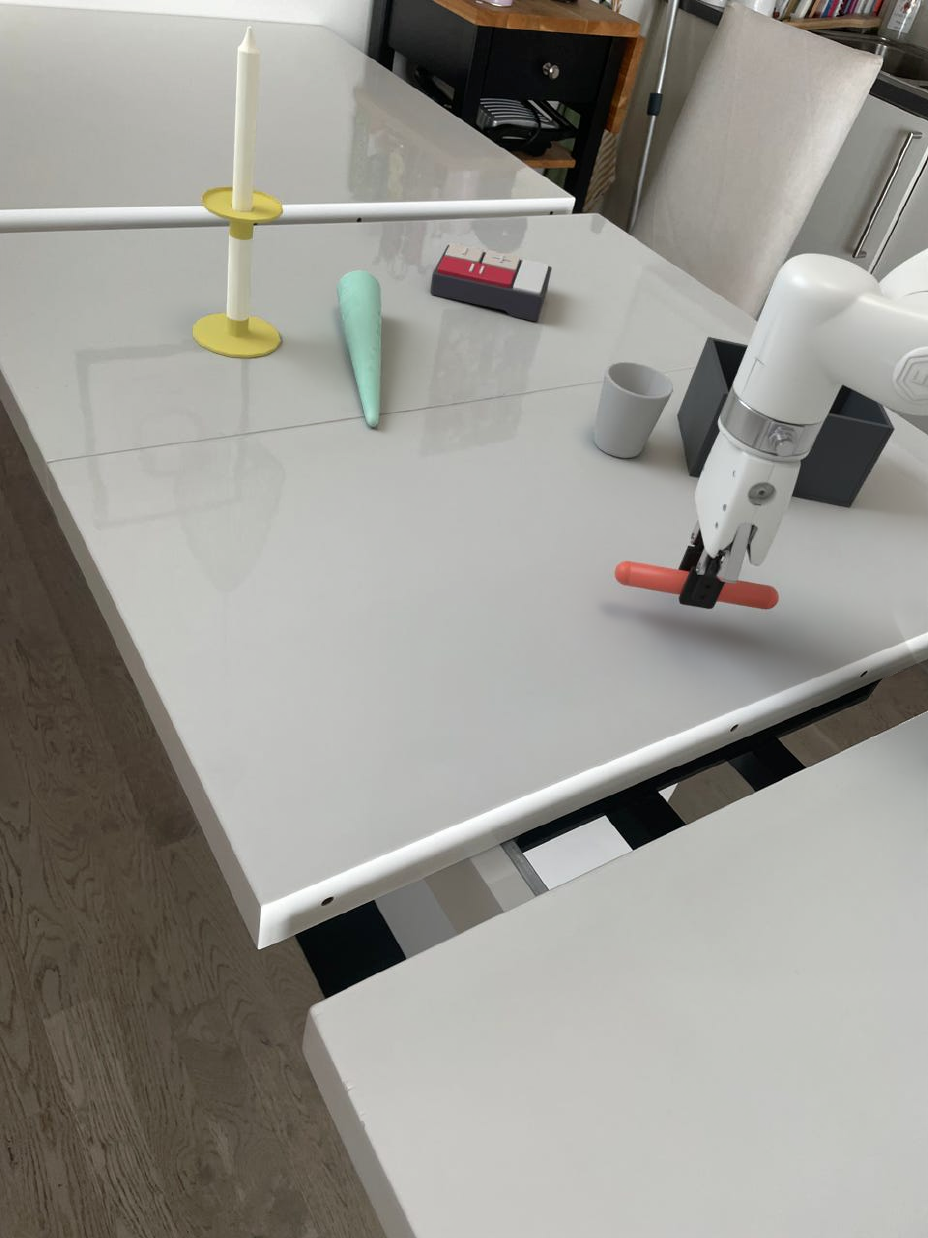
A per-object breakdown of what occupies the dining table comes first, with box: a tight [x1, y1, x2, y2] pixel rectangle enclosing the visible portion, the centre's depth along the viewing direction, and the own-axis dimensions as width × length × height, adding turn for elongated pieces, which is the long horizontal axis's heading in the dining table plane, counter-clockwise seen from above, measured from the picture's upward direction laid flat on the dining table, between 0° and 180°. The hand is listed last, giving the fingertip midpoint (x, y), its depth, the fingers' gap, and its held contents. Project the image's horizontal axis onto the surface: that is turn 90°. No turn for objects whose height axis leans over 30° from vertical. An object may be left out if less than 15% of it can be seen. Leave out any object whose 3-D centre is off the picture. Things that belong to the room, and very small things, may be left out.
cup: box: [592, 361, 674, 459], centre depth 111 cm, size 8×10×8 cm
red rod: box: [614, 560, 780, 611], centre depth 89 cm, size 15×2×2 cm, turn 87°
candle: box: [192, 19, 284, 359], centre depth 103 cm, size 10×10×32 cm
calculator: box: [429, 242, 552, 322], centre depth 134 cm, size 11×4×15 cm
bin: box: [676, 336, 896, 508], centre depth 113 cm, size 19×13×11 cm
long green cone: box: [336, 269, 382, 428], centre depth 113 cm, size 5×6×27 cm
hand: (693, 592), depth 89 cm, fingers closed on red rod, 2 cm apart
